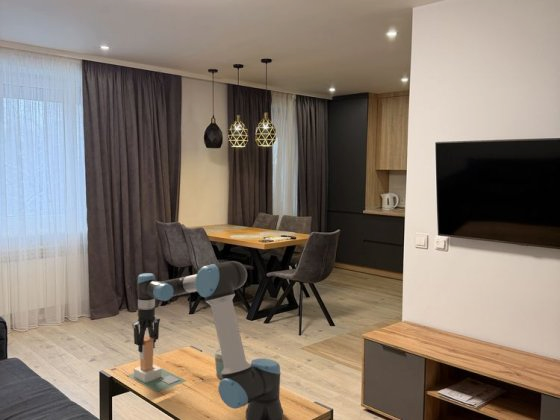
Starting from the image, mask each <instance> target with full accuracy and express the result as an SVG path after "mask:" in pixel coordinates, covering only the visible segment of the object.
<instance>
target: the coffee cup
mask: <svg viewBox="0 0 560 420" xmlns="http://www.w3.org/2000/svg"><path fill="white" fill-rule="evenodd" d="M213 357H214V360H215V361H214V362H215V370H216V378H218V379H220V380H222V379H223V378H222V371H223V369H224V364H223V359H222V355H221V350H220V349H218V350H216V351H215V353H214V356H213Z"/></svg>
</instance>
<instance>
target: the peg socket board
mask: <svg viewBox="0 0 560 420" xmlns="http://www.w3.org/2000/svg"><path fill="white" fill-rule="evenodd" d="M126 376H127V377H128V378H131V379H132V380H133V381H136V382H137V383H140V384H141V385H143V386H145V387H147V388H148V389H150V390H153V391H154V392H156V393H159V392H161V391H164V390H167V389H170V388H172V387H174V386H177V385H179V384H182V383H185V382H186V381H187V380H186V379H184V378H182V377H180V376H178V375H176V374H174V373H171V372H170V371H167V370H166V369H165V368H162V367H160V366H157V365H156V364H154V363H153V368H152V369H149V370H146V371H145V370H143V369H141V368H140V366H137V367H135V368H133V373H131V374H128V375H126Z"/></svg>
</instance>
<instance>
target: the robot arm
mask: <svg viewBox="0 0 560 420" xmlns="http://www.w3.org/2000/svg"><path fill="white" fill-rule="evenodd" d="M247 278H248V271H247V269H246V267H245V266H244V265H243V263H241V262H239V261H236V260H229V261H224V262H218V263H211V264H208V265H204V266H202V267H201V268H199V270H198V271H197V273H195V274H192V275H187V276H183V277H178V278H172V279H167V280H162V281H158V280H156V277H155V274H154V273H150V272H149V273H146V272H143V273H140V274H139V275H138V276H137V317H138V319H137V322H136V323H132V328H133V341H134V342H133V343H134V345H136V346H138V351H137V352H139V359H140V358H141V359H145V345H143V341H144V337H145V334H146V331H148V336H149V337H152V338H154V341H153V349H155V345H156V344H155V343H156V342H157V341H158V340H159V335H160V334H159V332H160V331H159V329H160V322H161V319H160V318H159V317H155V315H156V309H155V306H156V300H159V301H163V302H166V301H169V300H170V299H171V298H173V297H176V296H180V295H184V294H190V293H196V292H197V293H198V295H200V297H203V298H204V300H205V303H206V304H208V305H209V306H210V309H211V313H212V318H213V322H214V327H215V332H216V336H217V340H218V345H219V350H221V355H222V359H223V364H224V369H223V371H222V378H223V379H220V381H219V383H218V389H217V390H218V394H219V397H220V399H221V400H222V402H223V403H224V404H225V405H226V406H227V407H229V408H230V409H235V410H236V409H239V408H242V407H245V406H247V407H246V409H245V419H246V420H282V418H283V419H284V410H283V407H282V404H281V399H280V393H281V392H280V390H281V366H280V364H279V363H278V362H277V361H276V360H273V359H270V358H260V357H259V358H255V359H252V360H251V362H248V361H247V358H246V354H245V349H244V345H243V340H242V336H241V333H240V328H239V325H238V319H237V315H236V310H235V307H234V302H233V299H234V297H235V295H236V293H235V291H236V290H238V289H240V288H241V287H243V286H244V285H245V283H246V282H247Z"/></svg>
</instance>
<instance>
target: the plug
mask: <svg viewBox="0 0 560 420" xmlns="http://www.w3.org/2000/svg"><path fill="white" fill-rule="evenodd" d="M153 341H154V338H152V337H149V335H147V336H144V341H143V345H145V359H141V358H140V357H139V359H140V363H139V364H140V365H139V367H140V368H141V369H143V370H145V371H146V370H149V369H152V368H153V364H154V348H153Z"/></svg>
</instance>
